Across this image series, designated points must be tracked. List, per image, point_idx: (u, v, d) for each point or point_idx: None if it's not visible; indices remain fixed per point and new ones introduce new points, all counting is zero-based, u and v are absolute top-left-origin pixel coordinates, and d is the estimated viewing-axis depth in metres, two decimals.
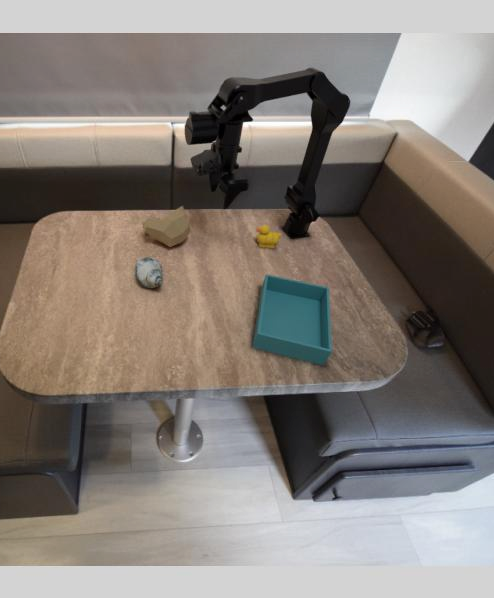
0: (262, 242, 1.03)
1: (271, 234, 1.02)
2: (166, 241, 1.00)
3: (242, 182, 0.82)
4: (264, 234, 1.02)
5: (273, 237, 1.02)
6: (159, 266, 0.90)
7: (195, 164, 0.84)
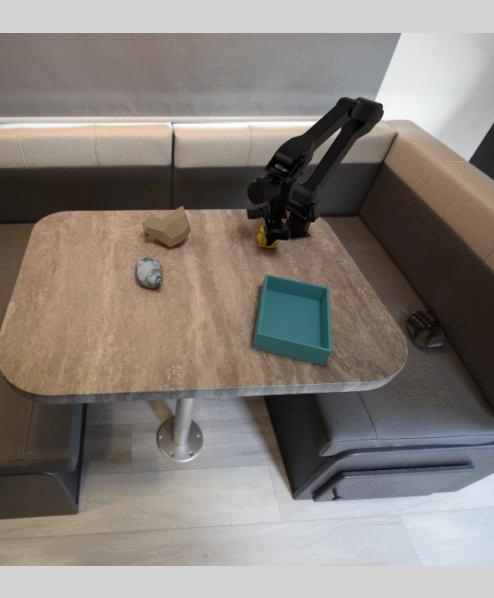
0: (262, 242, 1.03)
1: None
2: (166, 241, 1.00)
3: (283, 232, 0.91)
4: (264, 234, 1.02)
5: None
6: (159, 266, 0.90)
7: (246, 208, 0.96)
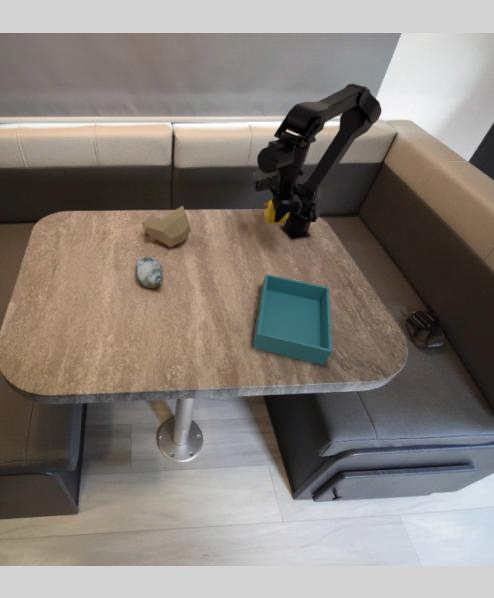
0: (270, 218, 0.96)
1: None
2: (166, 241, 1.00)
3: (294, 204, 0.84)
4: (272, 209, 0.94)
5: None
6: (159, 266, 0.90)
7: (254, 179, 0.89)
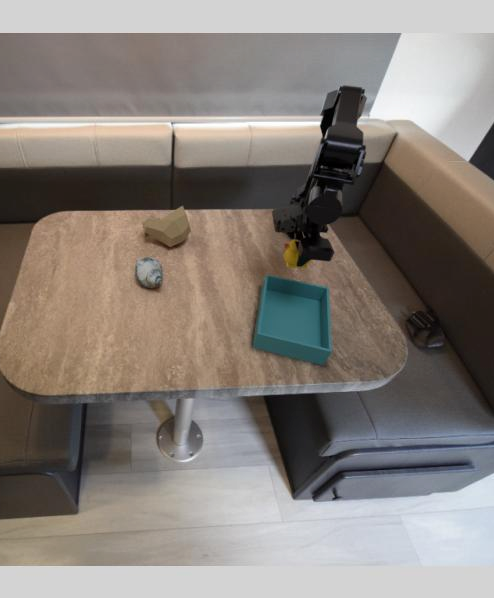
0: (291, 261, 0.80)
1: None
2: (166, 241, 1.00)
3: (325, 251, 0.69)
4: (295, 251, 0.79)
5: None
6: (159, 266, 0.90)
7: (274, 218, 0.74)
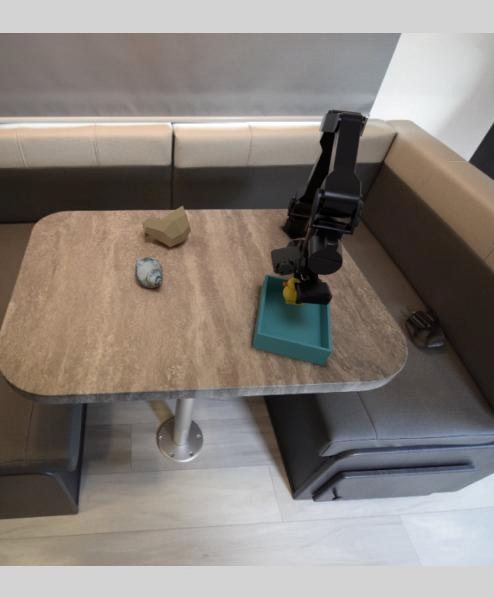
0: (290, 299, 0.81)
1: None
2: (166, 241, 1.00)
3: (323, 296, 0.70)
4: (293, 290, 0.80)
5: None
6: (159, 266, 0.90)
7: (273, 260, 0.74)
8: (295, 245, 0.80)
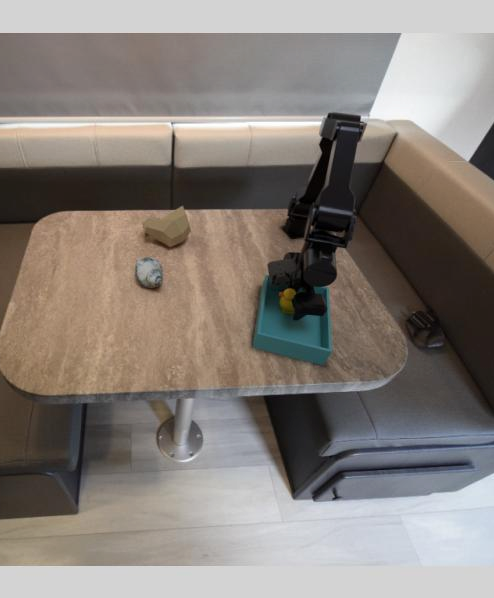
0: (286, 309, 0.83)
1: None
2: (166, 241, 1.00)
3: (318, 307, 0.71)
4: (289, 300, 0.82)
5: None
6: (159, 266, 0.90)
7: (270, 272, 0.76)
8: (291, 257, 0.82)
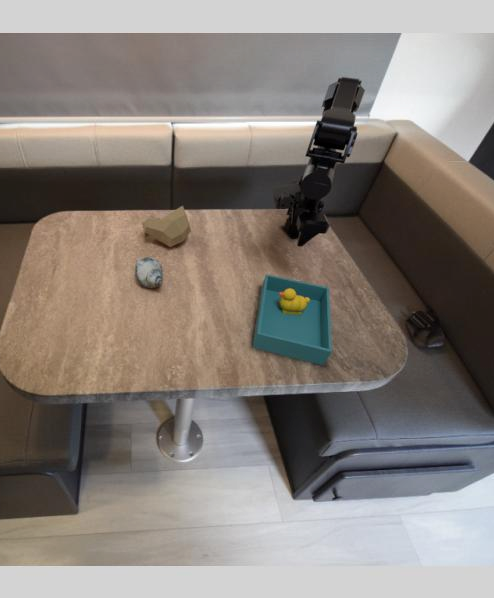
0: (286, 309, 0.83)
1: (298, 299, 0.83)
2: (166, 241, 1.00)
3: (321, 224, 0.76)
4: (289, 300, 0.82)
5: (300, 303, 0.82)
6: (159, 266, 0.90)
7: (275, 195, 0.81)
8: None
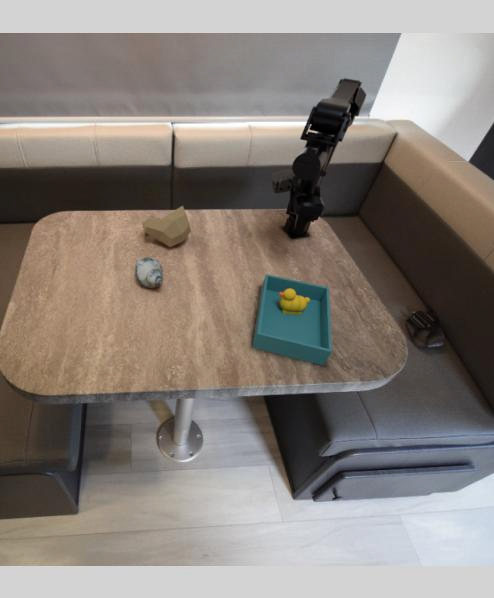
0: (286, 309, 0.83)
1: (298, 299, 0.83)
2: (166, 241, 1.00)
3: (317, 206, 0.80)
4: (289, 300, 0.82)
5: (300, 303, 0.82)
6: (159, 266, 0.90)
7: (273, 180, 0.85)
8: None
